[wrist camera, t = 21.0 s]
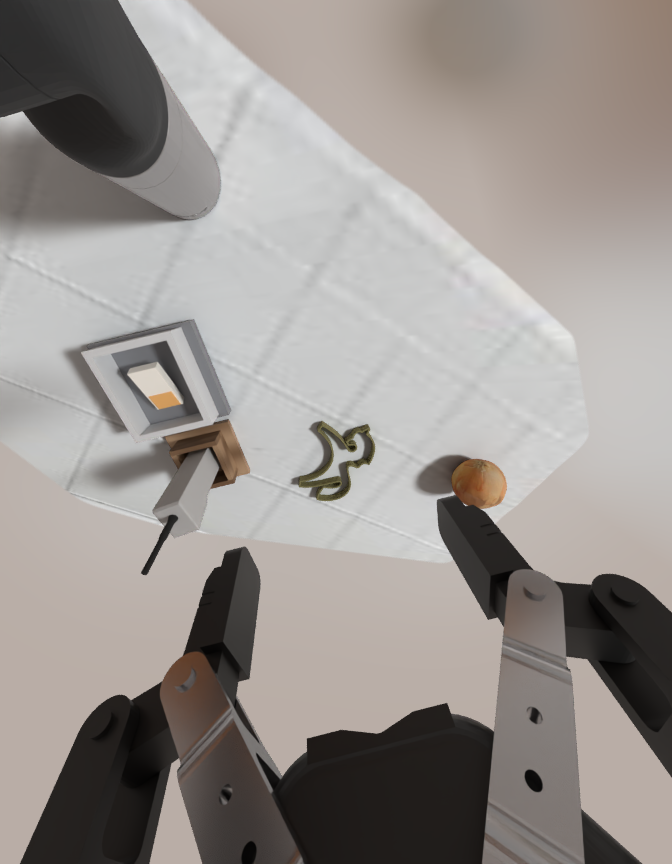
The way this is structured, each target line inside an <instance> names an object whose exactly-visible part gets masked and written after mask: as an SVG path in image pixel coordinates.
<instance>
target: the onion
mask: <svg viewBox="0 0 672 864" xmlns="http://www.w3.org/2000/svg"><path fill="white" fill-rule="evenodd" d="M451 482H452V487H453V490H454V493H455V494H456V496H458V498H459V499H460V500H461V501H462V502H463V503H464V504H466V505H468V506H469V505H474V506H476V507H478V508H479V509H484V508H489V507H493V506H496V505H498V504H500V503H501V502H502V500H503V498H504V496H505V493H506V490H507V483H506V479H505V476H504V474H503V473H502V471H501V470H500V469H499V468H498V467H497V466H496V465H495V464H494V463H492V462H489V461H486V460H481V459H470V460H467V461H465V462H463V463H461V464H460V465H459V466H458V467H457V468H456V469H455V470H454V472H453V474H452V478H451Z"/></svg>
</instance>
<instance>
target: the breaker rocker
mask: <svg viewBox="0 0 672 864" xmlns="http://www.w3.org/2000/svg"><path fill="white" fill-rule="evenodd" d="M127 375H128V376H129V377H130V378H131V379H132V381H133V382H134V383H135V384H136V385H137V386H138V388H139V389H140V390H141V391H142V392H143V393H144V394H145V396H146V397H147V398H148V399H149V400H150V401H151V403H152V404H153V405H154V406H155V407H156V408H157V410H159V409H163V408H167V407H171V406H176V405H180V404H183V401H184V397H183V395H182V394H181V393H180V391H179V390H178V389H177V387H176V386H175V384H174V383H173V382H172V380H171V379H170V378H169V376H168V375H167V374H166V372H165V371H164V370H163V368H162V367H161V365H160V364H159V363H158V362H154V363H150V364H146V365H141V366H137V367H133V368H130V369H129V371H128V373H127Z"/></svg>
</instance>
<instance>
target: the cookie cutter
mask: <svg viewBox="0 0 672 864" xmlns="http://www.w3.org/2000/svg"><path fill="white" fill-rule="evenodd" d="M322 427H325V428H326V429H328V430H329V431H331V432H332V433H333V434H335V435H336V436H337V437H338V438H339V439H340V440H341V441H342V442H343V443H344V445H345V446H346V448H347V450H348V451H349V452H355V451H356V450H357V445H356V442H355V441H354V440H351V439H353V438H354V436H355V434H356V433H358V432H361V433H363V432H364V431H365V433H366V435H367V436H368V437H369V438H370V439H371V441H372V448H371V452H370V454H369V456H368V458H367V459H364V458H362V459H360V460H359V461H358V462H356V463H355V462H353V461H347V462H346V469H347V473H348V484H347V486H346V487H345V489H344V490H342V491H341V492H339V493H336V494H332V495H320V492H321V491H322V489H323V488H338V487H340V486H341V485H342V481H341V477H339V476H336V477H331V478H327V479H323V480H318V481H310V482H305V481H309V480H312V479H315V478H317V477H319V476H321V475H322V474H324V473H325V472H326V471H327V470H328V469H329V468H330V466H331V464H332V462H333V457H334V453H333V448H332V444H331V441H330V439H329V438H328V436H327V435H326V434H325V432H324V431H323V430H322V429H321V428H322ZM317 431H318V432H319V433H320V434H321V435H323V436H324V438H325V439H326V440H327V441H328V443H329V445H330V447H331V457H330V459H329V461H328V463H327V464H326V465H325V466H324V467H323V468H322V469H320V470H319V471H317V472H315V473H312V474H309V475H305V476H300V478H299V487H303V488H309V487H318V486H319V488H318V490H317V493H316V498H317V500H320V501H333V500H337V499H340V498H342V497H344V496H345V495H346V494H347V493H348V492H349V490H350V487H351V480H350V476H349V471H348V468H349V467H350V466H353V467H355V468H359V467H360V466H361V465H363V464H368V465H369V464H370V463H371V461H372V459H373V456H374V453H375V444H374V441H373V439H372V437H371V435H370V434H369V431H370V428H369V426H368V424H366V425H364V426H362V427H361V428H360V427H356V428H354V429H353V430H352V432H351V434H349V435H348V436H346V437H345V440H344V439H343V437H342V436H341V435H340V434H339V433H338V432H337V431H336V430H334V429H333V428H332V427H330V426H329V425H328V424H326V423H325V422H323V421H321V423H320V424H319V425H318V427H317ZM345 441H346V442H345ZM351 445H353V446H352V447H349V446H351Z"/></svg>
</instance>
